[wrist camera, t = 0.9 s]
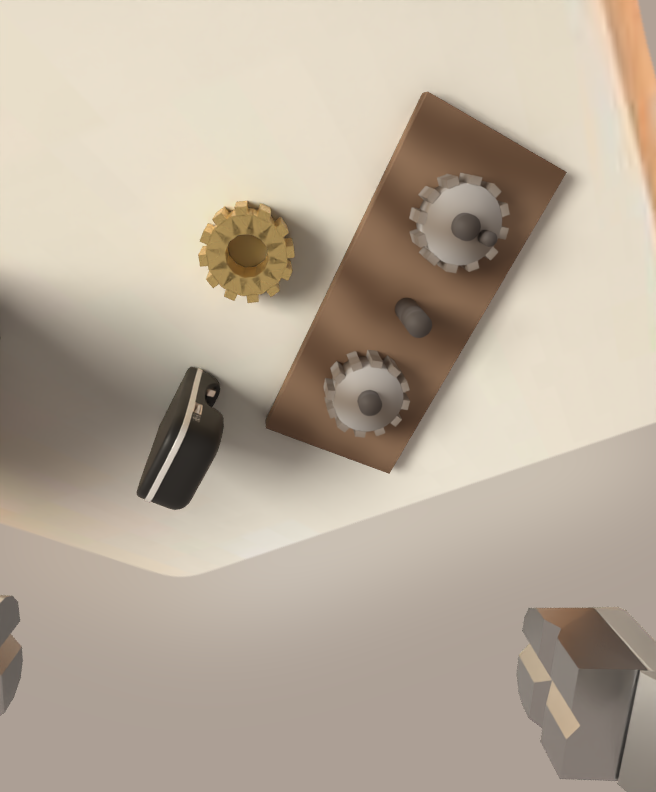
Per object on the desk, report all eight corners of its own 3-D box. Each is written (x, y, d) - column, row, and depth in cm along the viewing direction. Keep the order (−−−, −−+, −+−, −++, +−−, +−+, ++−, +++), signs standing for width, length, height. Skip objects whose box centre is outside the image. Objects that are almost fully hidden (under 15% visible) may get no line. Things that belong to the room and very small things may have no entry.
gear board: (422, 93, 41) (446, 87, 36) (557, 170, 44) (598, 176, 39) (265, 419, 50) (265, 454, 45) (386, 464, 54) (399, 502, 48)
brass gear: (222, 185, 42) (219, 189, 39) (306, 225, 44) (309, 232, 41) (190, 269, 44) (184, 279, 41) (271, 304, 46) (271, 316, 43)
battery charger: (198, 446, 51) (182, 526, 40) (157, 428, 50) (130, 507, 39) (234, 380, 49) (226, 448, 38) (191, 361, 47) (171, 425, 37)
